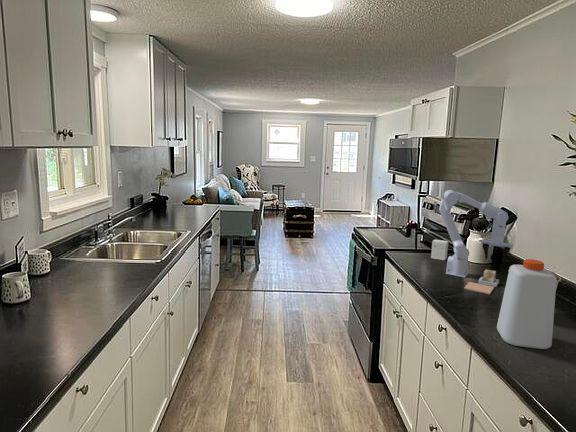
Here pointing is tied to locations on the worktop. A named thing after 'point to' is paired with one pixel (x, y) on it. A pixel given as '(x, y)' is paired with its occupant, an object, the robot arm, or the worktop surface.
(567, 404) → the worktop surface
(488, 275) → the birch block
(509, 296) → the plastic bottle
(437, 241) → the small box
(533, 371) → the worktop surface
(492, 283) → the holder
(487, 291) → the mat
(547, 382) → the worktop surface
